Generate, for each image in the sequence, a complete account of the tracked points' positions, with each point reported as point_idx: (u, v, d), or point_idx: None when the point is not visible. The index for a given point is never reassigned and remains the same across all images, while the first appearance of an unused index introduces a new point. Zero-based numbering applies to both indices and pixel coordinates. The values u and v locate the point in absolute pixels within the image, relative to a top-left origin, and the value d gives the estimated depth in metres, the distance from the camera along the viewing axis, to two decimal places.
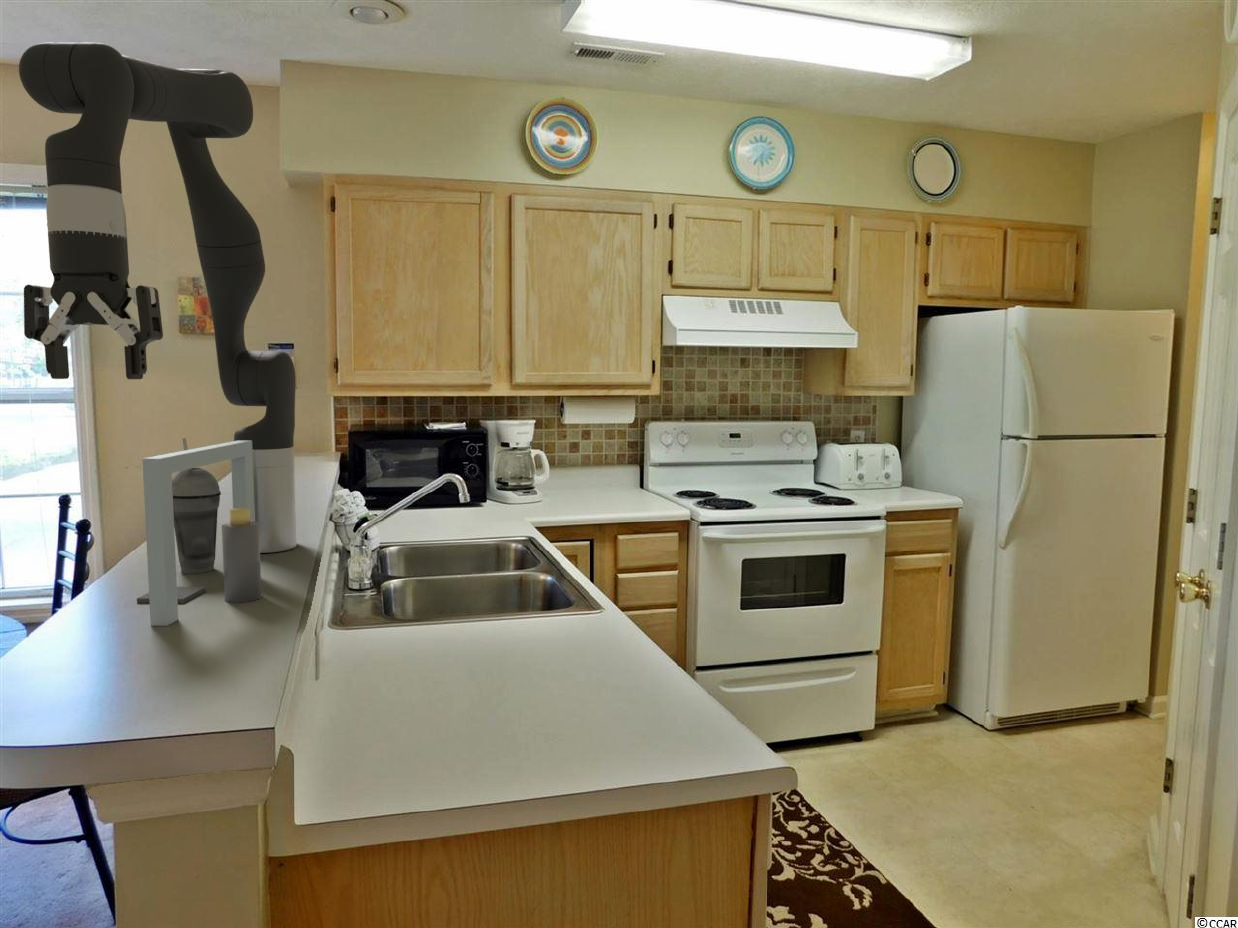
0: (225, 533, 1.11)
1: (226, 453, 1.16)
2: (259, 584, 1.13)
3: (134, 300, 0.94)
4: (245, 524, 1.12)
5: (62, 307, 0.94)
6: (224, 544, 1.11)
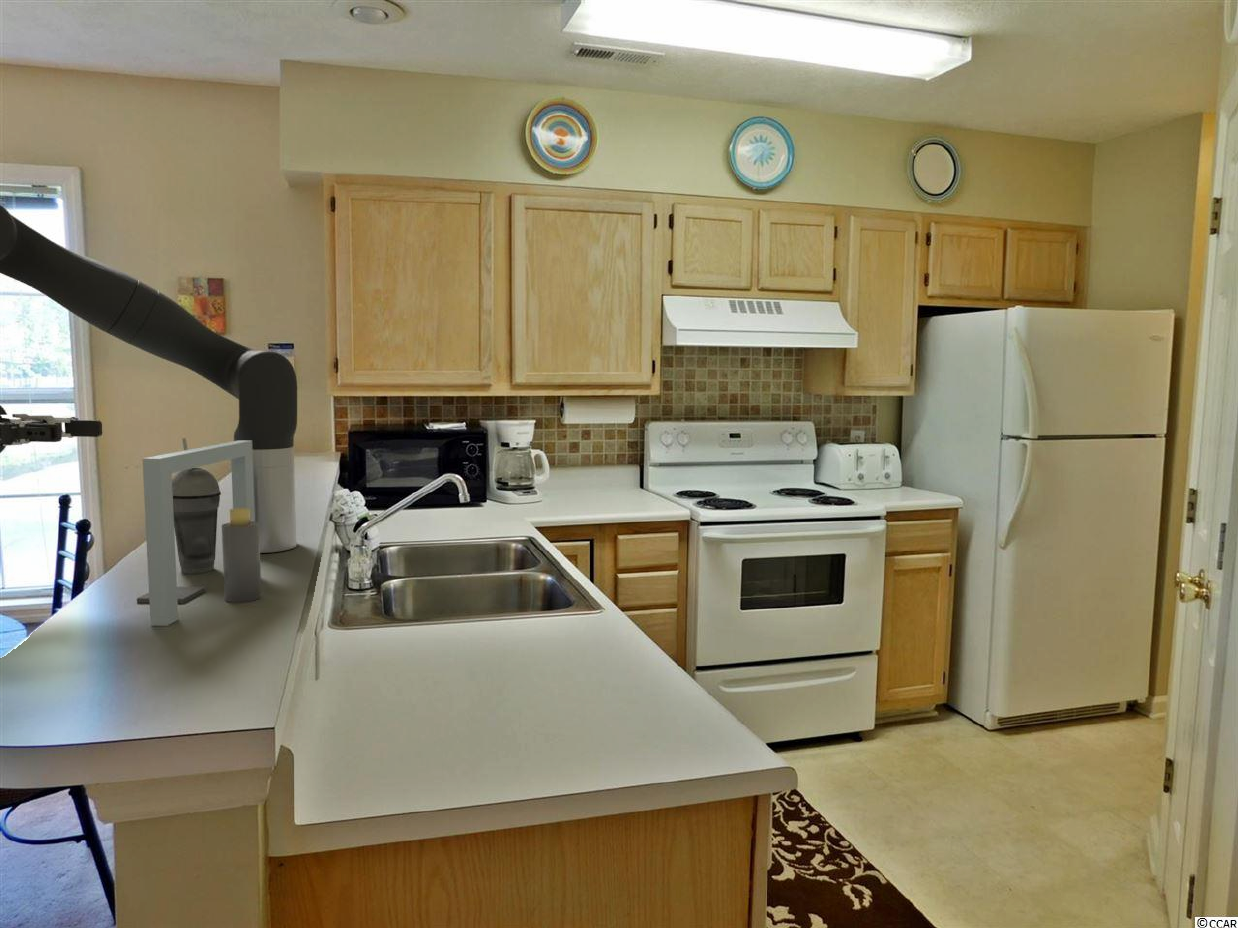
0: (225, 533, 1.11)
1: (226, 453, 1.16)
2: (259, 584, 1.13)
3: None
4: (245, 524, 1.12)
5: None
6: (224, 544, 1.11)
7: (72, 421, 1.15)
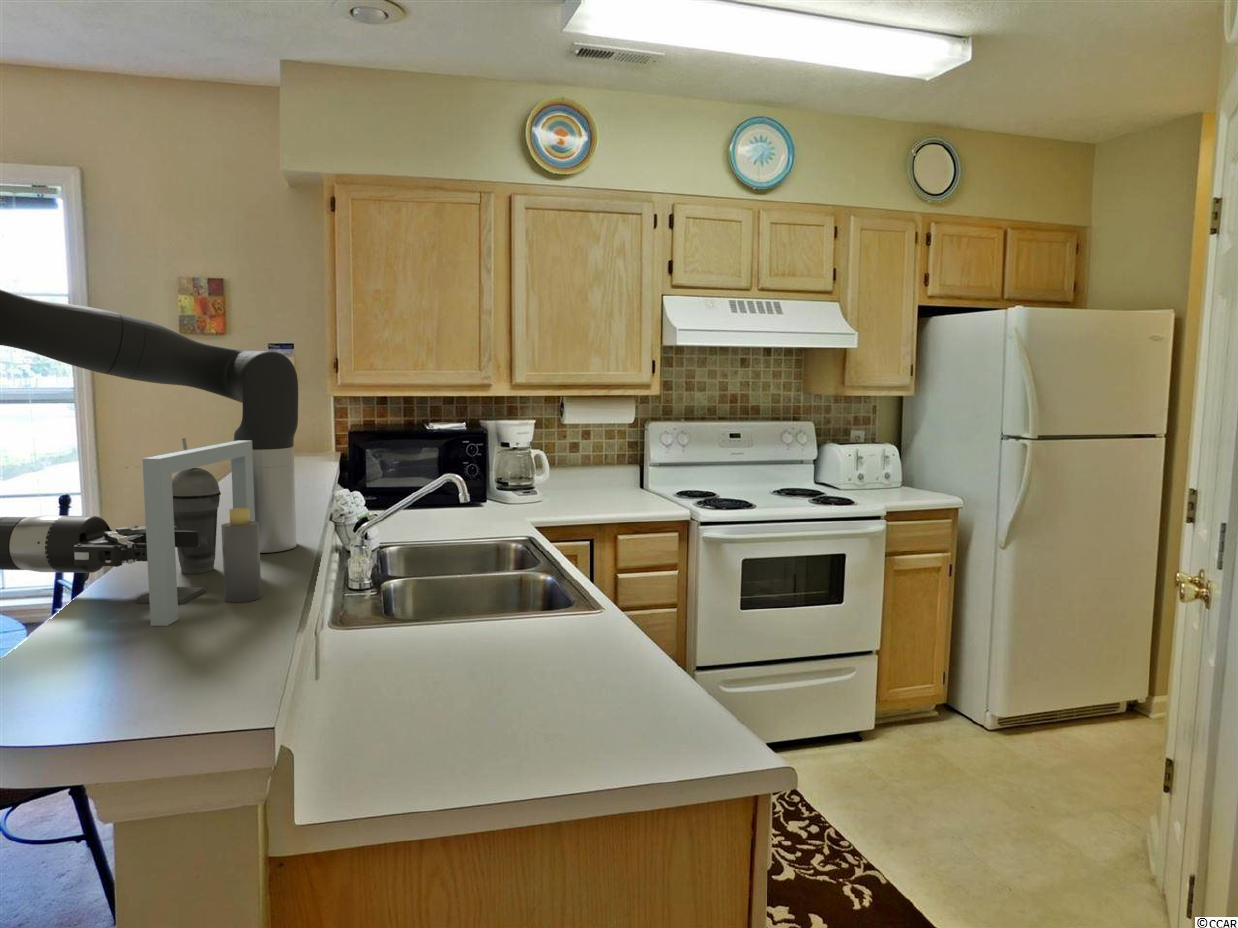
0: (225, 533, 1.11)
1: (226, 453, 1.16)
2: (259, 584, 1.13)
3: None
4: (245, 524, 1.12)
5: None
6: (224, 544, 1.11)
7: None
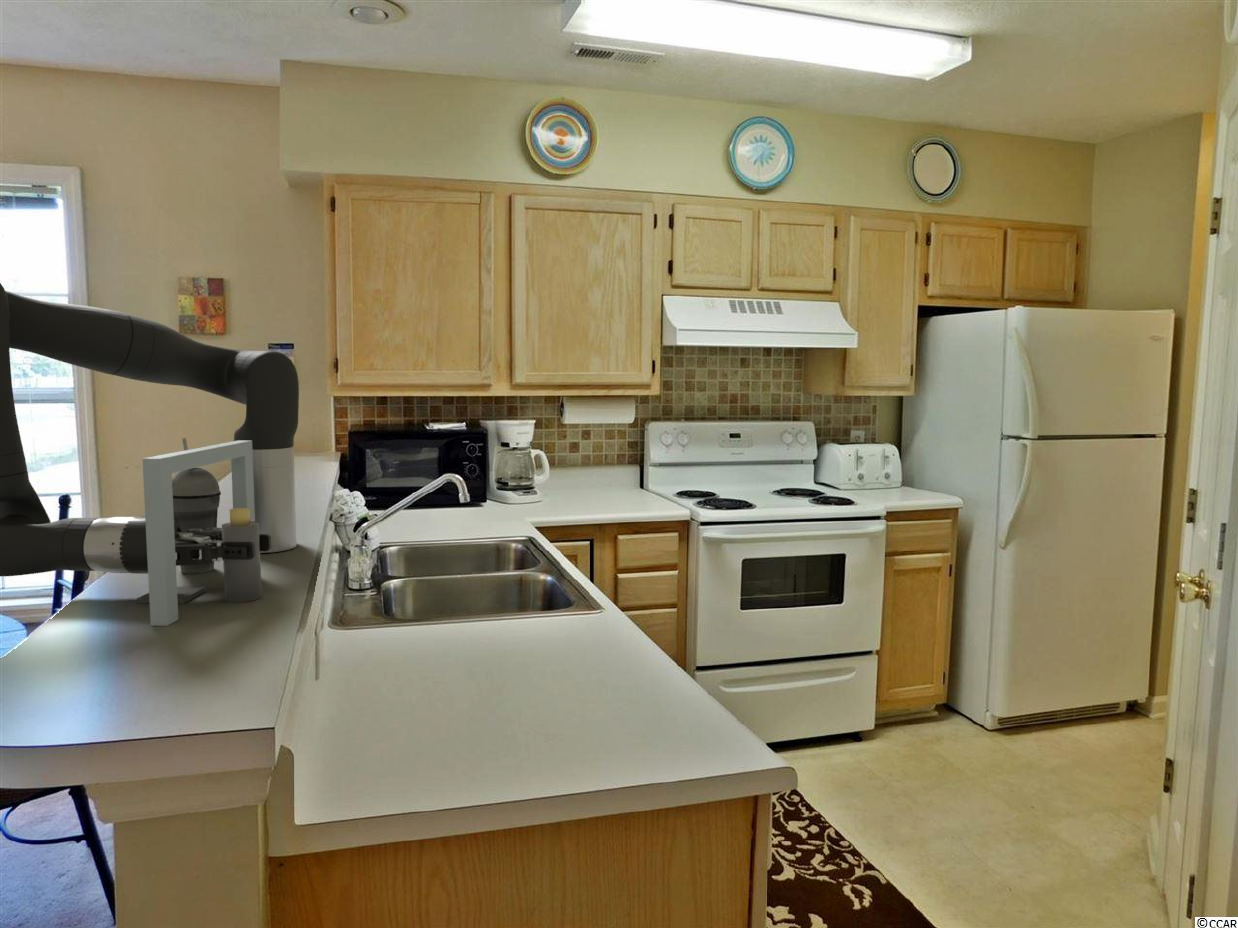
0: (225, 533, 1.11)
1: (226, 453, 1.16)
2: (259, 584, 1.13)
3: None
4: (245, 524, 1.12)
5: None
6: None
7: None
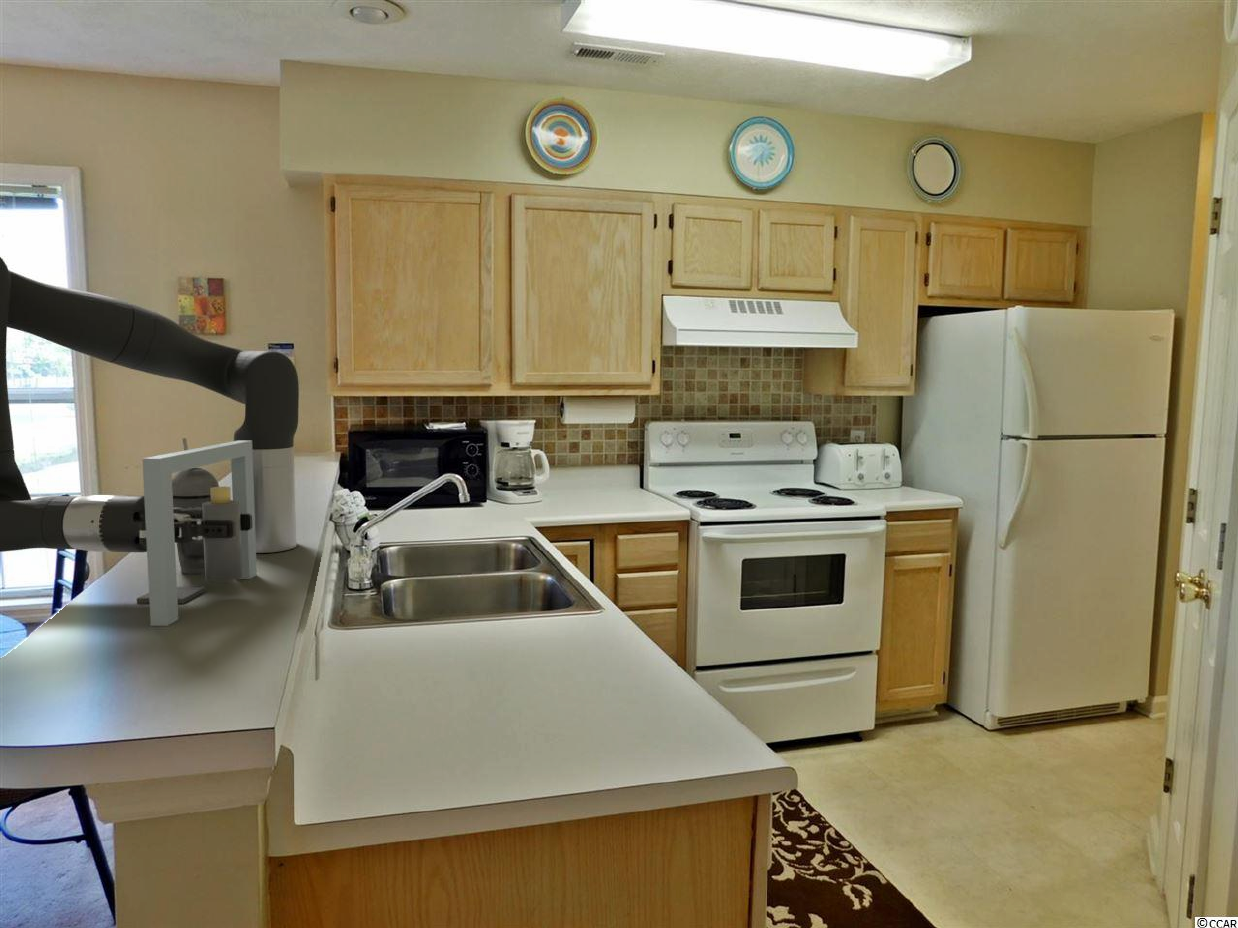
0: (205, 511, 1.10)
1: (226, 453, 1.16)
2: (240, 563, 1.13)
3: None
4: (225, 503, 1.11)
5: None
6: None
7: None
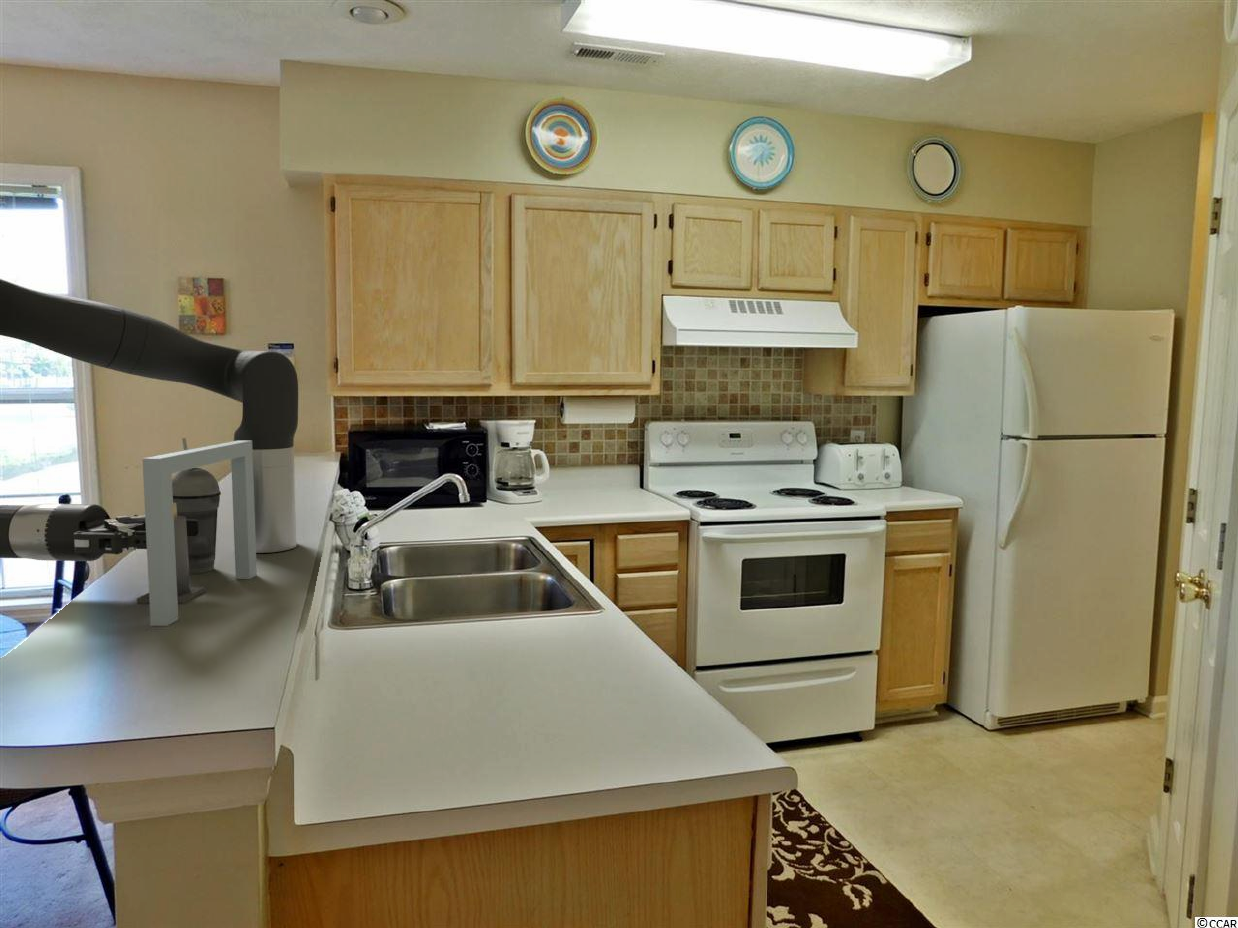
0: None
1: (226, 453, 1.16)
2: (187, 579, 1.13)
3: None
4: None
5: None
6: None
7: None
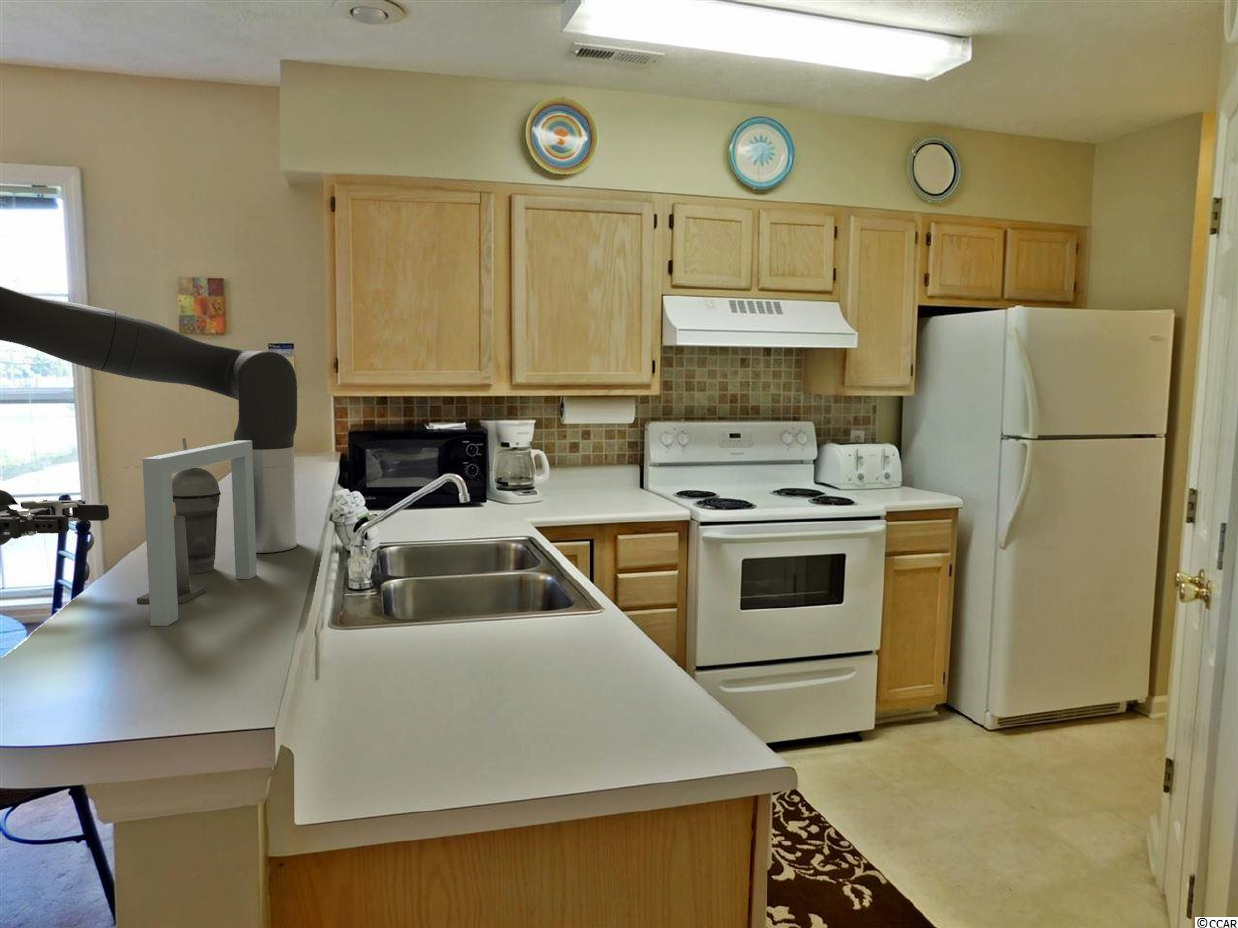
0: None
1: (226, 453, 1.16)
2: (186, 578, 1.13)
3: None
4: None
5: None
6: None
7: (79, 506, 1.16)
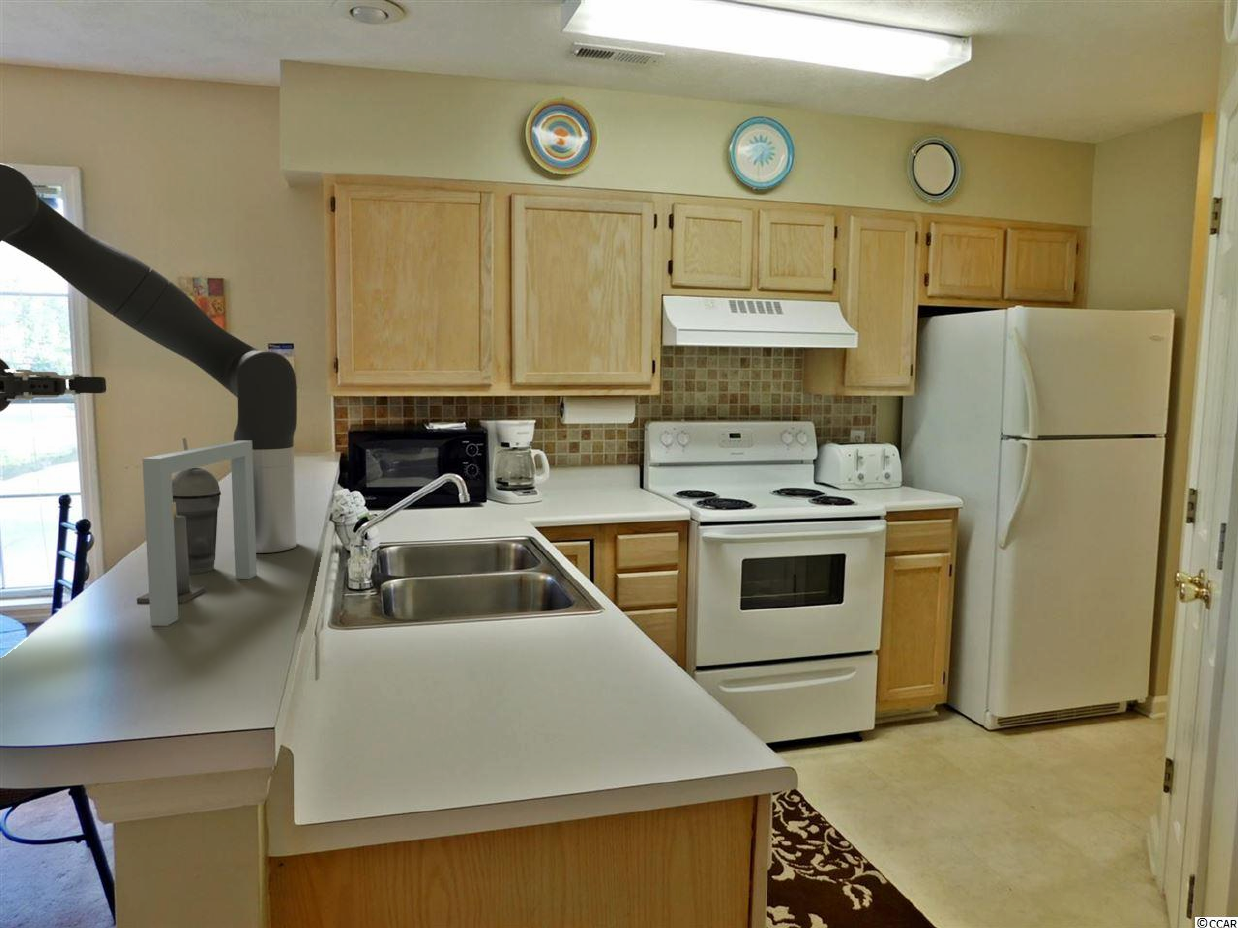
0: None
1: (226, 453, 1.16)
2: (187, 578, 1.13)
3: None
4: None
5: None
6: None
7: (76, 377, 1.14)
